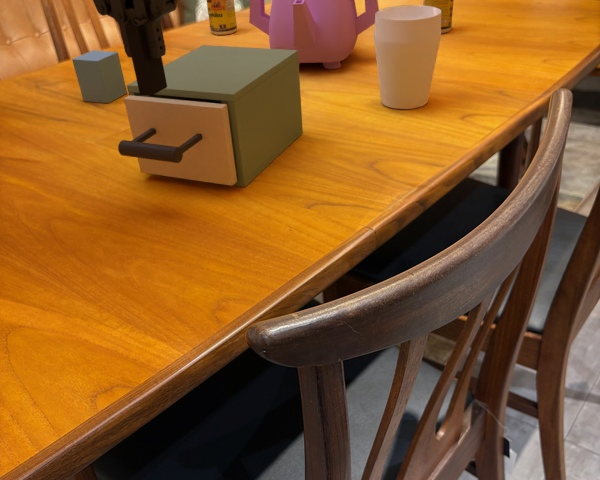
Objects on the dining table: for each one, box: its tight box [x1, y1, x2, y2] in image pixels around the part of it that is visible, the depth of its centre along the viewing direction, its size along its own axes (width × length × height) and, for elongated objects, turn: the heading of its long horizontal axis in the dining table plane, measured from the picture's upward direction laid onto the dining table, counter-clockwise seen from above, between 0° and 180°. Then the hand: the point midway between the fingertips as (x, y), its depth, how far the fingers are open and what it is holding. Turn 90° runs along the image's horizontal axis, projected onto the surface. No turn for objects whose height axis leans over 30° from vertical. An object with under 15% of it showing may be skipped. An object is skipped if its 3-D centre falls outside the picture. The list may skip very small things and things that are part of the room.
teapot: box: [248, 0, 380, 70], centre depth 104 cm, size 19×18×15 cm
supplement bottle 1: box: [206, 0, 238, 36], centre depth 126 cm, size 6×6×10 cm
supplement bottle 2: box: [422, 0, 455, 34], centre depth 116 cm, size 6×6×10 cm
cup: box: [373, 4, 442, 110], centre depth 85 cm, size 9×9×12 cm
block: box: [72, 49, 128, 104], centre depth 97 cm, size 5×5×6 cm
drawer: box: [117, 94, 237, 187], centre depth 71 cm, size 21×12×9 cm, turn 156°
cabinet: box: [126, 44, 304, 188], centre depth 75 cm, size 17×14×11 cm
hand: (153, 90), depth 62 cm, fingers closed
